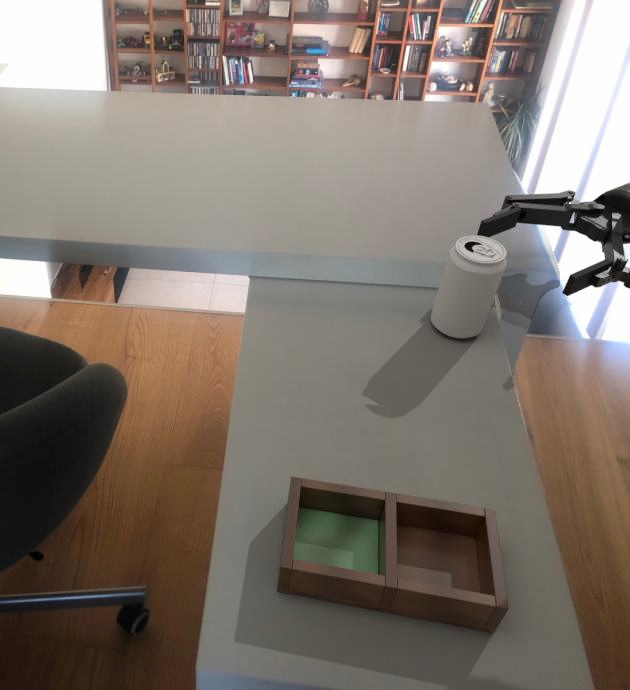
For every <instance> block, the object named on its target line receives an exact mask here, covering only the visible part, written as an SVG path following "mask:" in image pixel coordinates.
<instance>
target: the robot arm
mask: <svg viewBox="0 0 630 690" xmlns="http://www.w3.org/2000/svg"><path fill="white" fill-rule="evenodd" d="M575 196H576V191H574V190H569V189H568V190H564V191H561V192H557V193H556V192H554V193H553V192H552V193H551V192H550V193H530V194H528V193H527V194H508V195H505V196H504V199H503V202H502V205H501V208H500V210H498V211H495V212H494V213H492V216H490V217H487V218H485V219H482V220H480V223H479V227H478V229H477V232H476V235H478V236H485V237H488V238H491V237H493V236H496V235H499V234H501V233H504V232H506V231H509V230H512V229H514V228H516V227H517V224H526V225H537V226H548V227H549V226H550V227H559V228H560V229H561V230H562V231H567V232H568V231H571V232H576V233H578V234H580V235H583V236H586V237H587V238H588V239H589V240H590V241H593V242H595V243H596V242H597V243H600V244H601V252H602V253H603V254H604V255H603V256H604V259H602V260H600V261H599V262H596V263H594V264H591V265H590V266H587V267H585V268H583V269H581V270H578V271H576V272H574V273H571V274H570V275H569V277H568V279H567V281H566V283H565V285H564V288H563V290H562V291H561V292H562V293H561V294H562V295H564V296H566V297H569V296H571V295H573V294H576V293H579V292H580V291H582V290H585V289H587V288H589V287H591V286H592V287H593V288H596V289H597V288H601V287H604V286H606V285H608V284H610V283H618V282H620V283H623V286H624V287H625V288H627V289H630V267H628V266H626V265H627V263H628V262H629V258H626V256H625V255H626V254H625V247H624V245H628V244H630V181H629V182H627V183H624V184H623V185H619V186H617V187H614V188H612V189H610V190H607V191H605V192H603V193H602V194H600V195H598V196H597V197H596V198H595V199H594V200H592V201H582V202H581V201H580V200H578V199H576V198H575ZM573 215H574V216H573ZM572 217H573V222H571V220H572Z"/></svg>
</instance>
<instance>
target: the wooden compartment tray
mask: <svg viewBox="0 0 630 690" xmlns="http://www.w3.org/2000/svg"><path fill="white" fill-rule="evenodd" d="M502 556H503V555H502V549H501V540H500V534H499V527H498V519H497V513H496V509H494V508H489V507H483V506H477V505H471V504H465V503H458V502H453V501H452V502H451V501H447V500H440V499H435V498H434V499H433V498H427V497H423V496H415V495H410V494H409V495H408V494H403V493H396V492H390V491H383V490H376V489H371V488H365V487H360V486H353V485H346V484H339V483H334V482H328V481H323V480H322V481H321V480H317V479H316V480H315V479H309V478H305V477H303V478H301V477H297V476H291V477H290V482H289V488H288V496H287V503H286V511H285V519H284V528H283V536H282V545H281V552H280V561H279V568H278V578H277V585H276V592H279V593H285V594H290V595H295V596H299V597H305V598H311V599H316V600H321V601H325V602H330V603H331V602H332V603H337V604H342V605H348V606H353V607H358V608H363V609H367V610H373V611H377V612H378V611H379V612H382V613H383V612H384V613H389V614H394V615H399V616H404V617H410V618H415V619H419V620H425V621H430V622H435V623H441V624H447V625H450V626H451V625H452V626H456V627H462V628H467V629H471V630H472V629H473V630H477V631H482V632H487V633H492V634H493V633H495V632H496V631H497V629H498V628H499V626H500V624H501V623H502V621H503V619H504V618H505V616H506V615H507V613H508V611H509V610H510V608H509V607H510V605H509V599H508V591H507V585H506V584H507V583H506V578H505V570H504V564H503V557H502Z"/></svg>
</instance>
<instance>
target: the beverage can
mask: <svg viewBox="0 0 630 690" xmlns="http://www.w3.org/2000/svg"><path fill="white" fill-rule="evenodd" d="M506 257H507V249H506V247H505V246H504V245H503V244H502V243H500V242H499V241H498V240H496V239H493V238H491V237H489V238H488V237H485V236H478V235H477V234H472V235H465V236H462V237H459V239H457V240H456V241H455V243H454V246H452V247H451V248H450V250H449V252H448V256H447V259H446V262H445V266H444V269H443V273H442V276H441V279H440V283H439V286H438V290H437V293H436V296H435V299H434V302H433V307H432V309H431V312H430V321H431V323H432V325H433V327H434V328H435V329H436V330H438V331H439V332H440V333H442V334H443V335H444V336H447V337H449V338H454V339H469V338H473V337H476V336H478V335H480V333H481V332H482V331H483V329H484V327H485V324H486V321H487V318H488V316H489V314H490V310H491V308H492V305H493V302H494V299H495V296H496V294H497V291H498V289H499V286H500V283H501V281H502V278H503V276H504V272H505V271H506V267H507V263H508V261H507V258H506Z"/></svg>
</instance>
